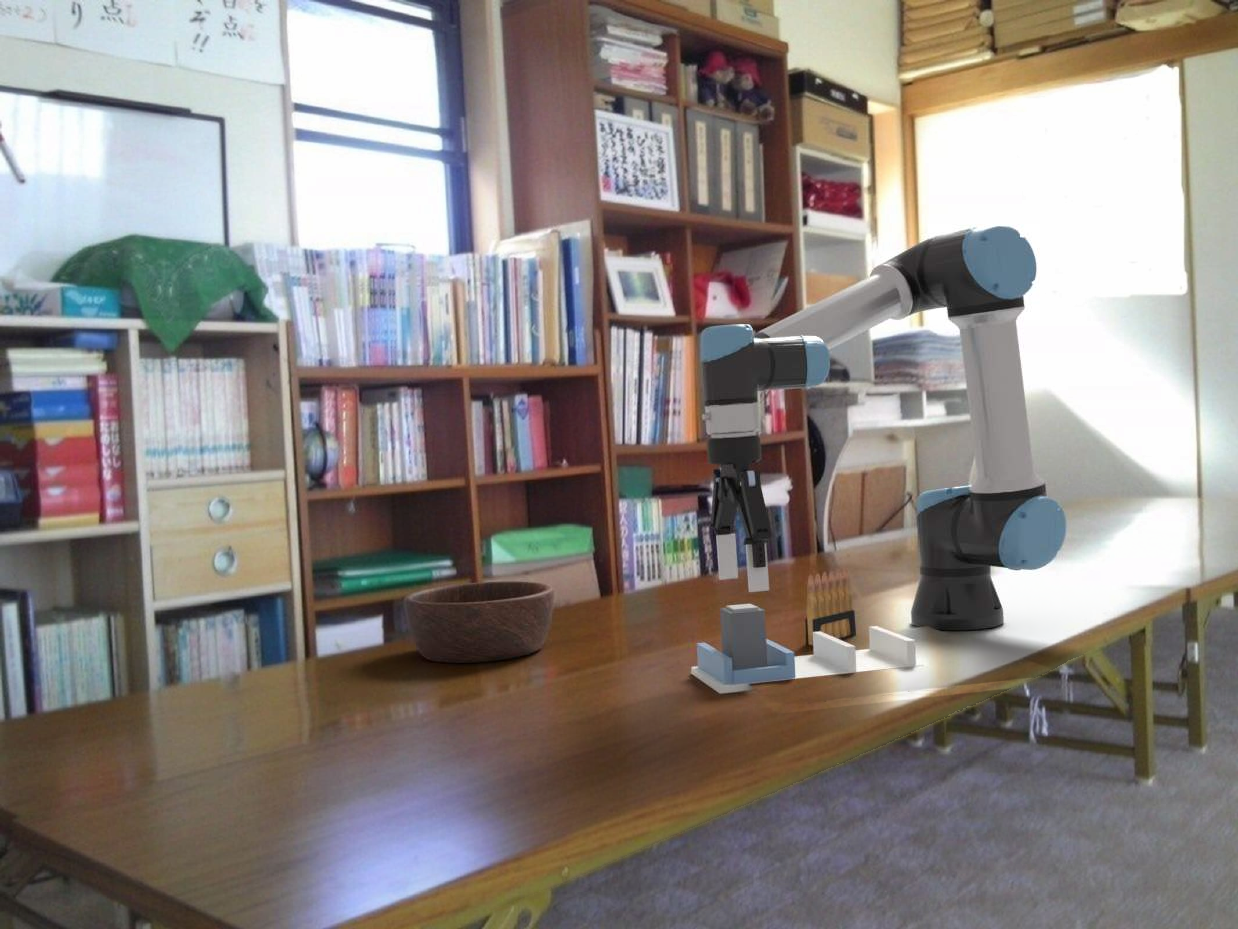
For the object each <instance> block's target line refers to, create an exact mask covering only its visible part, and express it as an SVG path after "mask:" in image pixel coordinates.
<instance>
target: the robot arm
mask: <svg viewBox="0 0 1238 929" xmlns="http://www.w3.org/2000/svg"><path fill="white" fill-rule="evenodd" d="M1036 260H1037V259H1036V256H1035V253H1034V250H1033V247H1032V246H1031V244H1030V242H1029V241H1028V240H1027V238H1026V237H1025V236H1024V235H1022V234H1020V232H1019V231H1018V230H1017V229H1016V228H1014V227H1013V226H1009V225H1006V224H997V223H996V224H987V225H982V224H981V225H979V226H975V227H974V226H973V227H972V228H968V229H963V230H958V231H954V232H951V233H947V234H941V235H935V236H933V237H930V238H927V239H925V240H923V241H921V242H919V243H917V244H916V245H913V246H912V247H910V248H908V249H906V250H904V251H903V252H901V253H898V254H897V255H896V256H895V255H894V257H892V258H890V259H888V260H886V261H885V262H883V263H881V264H878V265H877V266H875V267H873V269H872V270H871V272H870V275H869V276H868V277H866V278H865V279H862V280H860V281H858V282H856V283H854V284H852V285H850V286H848V287H846V288H844V289H841V290H839V291H838V292H836V293H834V294H832V295H829V296H828V297H826V298H824V299H822V300H820V301H818V302H815V303H814V304H811V305H810V306H807V307H806V308H804V309H802V310H800V311H797V312H796V313H794V314H792V315H789V316H787V317H785V318H783V319H781V320H779V321H777V322H775V323H773V324H771V325H769V326H767V327H766V328H763V329H761V330H759V331H758V332H756V333H754V329H753V327H752V326H751V324H746V323H745V324H742V323H740V324H736V323H735V324H724V325H714V326H709V327H706V328H704V329H703V330H702V332H701V333H700V334H701V335H700V342H699V343H700V359H699V360H700V361H699V362H700V363H701V376H702V387H703V388H702V389H703V401H704V412H705V413H702V415H701V419H702V420H703V421H705V428H706V433H707V435H710V436H711V438H708V440H707V441H706V446H707V462H708V464H710V465H715V466H718V465H719V466H720V467H716V468H713V471H712V474H713V487H712V488H713V489H712V500H711V501H712V502H711V511H710V512H711V513H710V525H709V527H710V528H711V529H712V530H713V532H714V534H715V535H716V536H715V537H716V538H715V539H716V553H717V567H718V580H720V581H722V580H731V579H738V578H739V571H738V570H739V568H738V556H737V554H738V553H737V542H736V541H737V540H736V533H737V532H738V530H737V528H736V525H735V521H736V516H737V511H738V514H739V516H740V520H741V523H742V526H743V529H744V530H743V531H744V534H745V536H746V537H744V539H743V545H744V546H745V553H746V554H745V556H746V570H747V584H748V586H747V587H748V592H749V593H756V592H764V591H770V583H769V582H770V580H769V567H768V566H769V565H768V552H767V551H768V550H767V543H768V542H769V540H772V538H773V534H772V529H771V525H770V520H769V517H768V516H769V515H768V511H767V506H766V503H765V498H764V493H763V489H762V482H761V473H760V471H759V470H757V469H755V470H752V469H751V467H750V464H751V463H757V462H760V460H761V461H762V446H761V445H762V444H761V437H759V435H757V432H758V431H760V430H761V423H760V422H761V421H760V411H759V410H760V409H759V408H760V407H759V402H758V392H761V391H762V392H763V391H778V390H791V389H792V390H793V389H803V390H806V389H807V388H812V387H818V386H820V385H822V384H823V383H824V382H825V381H826V380H827V378H828V376H829V374H830V373H829V372H830V369H831V359H830V357H831V355H830V351H829V350H831V349H833V348H835V347H837V346H839V345H840V344H841V345H842V344H843V343H845V342H847V341H848V340H851V339H852V338H855V337H856V336H858V335H860V334H863V333H864V332H865V331H868V330H871V329H872V328H874V327H876V326H878V325H881V323H884V322H885V321H888V320H890V319H891V320H895V321H901V320H903V319H905V318H907V317H908V316H911V315H914V314H916V313H922V312H925V311H926V312H927V311H930V310H935V309H941V308H943V309H944V308H946V310H947V312H946V313H947V319H948V320H949V321H950V322H951V323H953V325H955V326H956V327H957V328H958V329H959V336H960V343H961V352H962V362H963V369H964V377H965V385H966V393H967V401H968V409H969V410H968V411H969V418H970V426H971V434H972V435H971V436H972V443H973V451H974V460H975V466H976V467H975V468H976V475H977V477H976V479H975V480H974V482H973V483H972V484H971V485H963V486H955V487H948V488H939V489H933V490H931V489H930V490H927V491H923V492H921V493H920V494H918V495H919V496H918V497H917V500H916V503H917V505H916V506H917V508H916V513H915V514H916V515H915V516H916V527H917V528H916V530H917V542H918V544H917V546H918V548H917V549H918V563H919V582H918V585H917V589H916V593H915V595H914V598H913V603H912V605H911V606H912V607H911V610H910V618H911V625H913V626H914V627H918V628H925V627H927V628H930V629H933V630H941V631H971V630H982V629H983V630H984V629H991V628H995V627H999V626H1001V625H1003V624H1004V618H1005V616H1004V608H1003V606H1002V603H1001V600H1000V597H999V594H998V592H997V589H996V587H995V584H994V582H993V579H992V573H991V570H992V569H991V568H992V567H993V568H994V567H995V568H996V567H997V568H1004V569H1008V570H1010V571H1011V570H1013V571H1021V570H1024V571H1025V570H1027V571H1035V570H1038V569H1041V568H1043V567H1046V566H1047V565H1049V564H1051V562H1052V561H1053V560H1054V559H1055V558H1056V557H1057V554H1058V552H1059V551H1061V549H1062V547H1063V544H1064V542H1065V538H1066V534H1067V517H1066V514H1065V511H1064V509H1063V507H1062V506H1061V505H1059V503H1058V502H1057V500H1055V499H1053V498H1051V497H1050V496H1047V495H1048V494H1047V488H1046V481H1045V479H1044V478H1043V477H1041V476H1040V475H1038V474H1037V473H1036V472H1035V470H1034V462H1033V454H1032V446H1031V437H1030V429H1029V421H1028V413H1027V412H1028V411H1027V404H1026V397H1025V396H1026V395H1025V388H1024V380H1023V370H1022V368H1023V367H1022V362H1021V354H1020V353H1021V352H1020V344H1019V343H1020V342H1019V336H1018V328H1017V319H1018V317H1019V316H1020V315H1021V314H1022V313H1023V311H1024V310H1025V298H1024V297H1025V296H1024V295H1026V294H1027V293H1028V292H1029V291H1030V290H1031V289H1032V287H1033V282H1034V281H1035V280H1036V277H1037V261H1036Z"/></svg>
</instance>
